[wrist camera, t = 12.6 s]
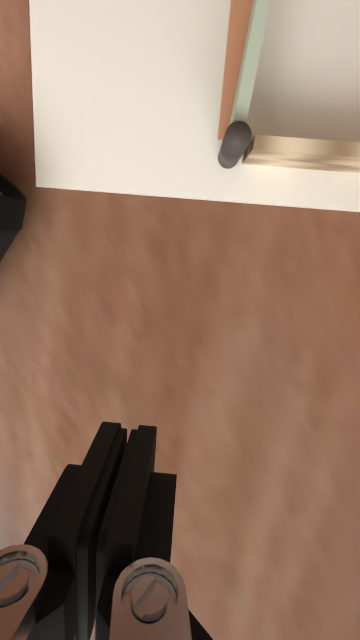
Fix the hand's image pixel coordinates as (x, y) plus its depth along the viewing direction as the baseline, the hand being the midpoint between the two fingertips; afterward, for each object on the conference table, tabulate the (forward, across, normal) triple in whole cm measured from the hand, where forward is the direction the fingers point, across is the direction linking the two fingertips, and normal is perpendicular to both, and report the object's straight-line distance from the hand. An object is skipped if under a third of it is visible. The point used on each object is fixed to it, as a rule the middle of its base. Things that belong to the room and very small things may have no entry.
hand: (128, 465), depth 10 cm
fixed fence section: (+27, -11, -14) cm, 32 cm away
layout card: (+27, -2, -24) cm, 36 cm away
